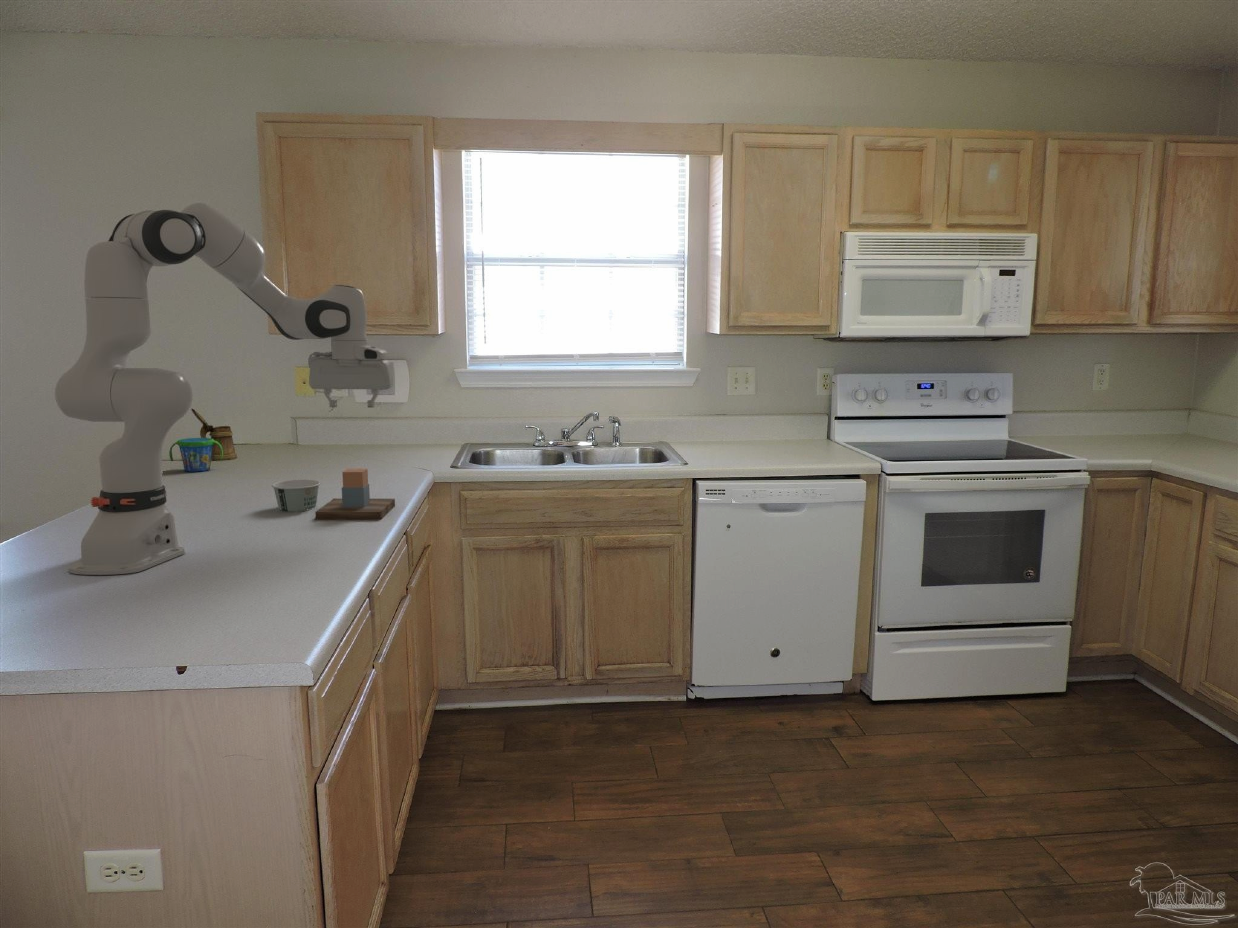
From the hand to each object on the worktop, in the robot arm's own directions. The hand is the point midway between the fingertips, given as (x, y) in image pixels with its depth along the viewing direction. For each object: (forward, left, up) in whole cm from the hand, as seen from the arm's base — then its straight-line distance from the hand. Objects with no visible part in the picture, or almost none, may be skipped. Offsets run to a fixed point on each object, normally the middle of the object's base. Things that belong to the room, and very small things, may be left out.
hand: (352, 407), depth 219 cm
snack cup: (+62, +67, -27) cm, 96 cm away
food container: (+6, +17, -27) cm, 33 cm away
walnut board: (0, 0, -27) cm, 27 cm away
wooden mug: (+86, +71, -27) cm, 115 cm away
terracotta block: (0, 0, -20) cm, 20 cm away
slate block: (0, 0, -25) cm, 25 cm away
